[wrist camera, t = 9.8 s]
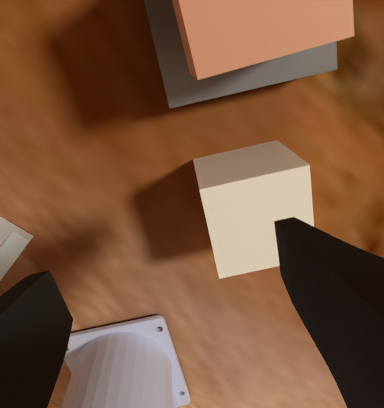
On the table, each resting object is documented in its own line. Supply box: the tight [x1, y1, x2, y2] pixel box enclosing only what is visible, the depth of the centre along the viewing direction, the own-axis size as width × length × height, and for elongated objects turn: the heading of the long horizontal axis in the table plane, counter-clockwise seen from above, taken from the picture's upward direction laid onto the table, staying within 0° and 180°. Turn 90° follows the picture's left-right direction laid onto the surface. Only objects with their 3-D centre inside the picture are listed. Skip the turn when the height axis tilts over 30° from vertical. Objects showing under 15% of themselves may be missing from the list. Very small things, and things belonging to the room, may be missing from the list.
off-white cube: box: [193, 140, 314, 279], centre depth 18 cm, size 5×5×5 cm
